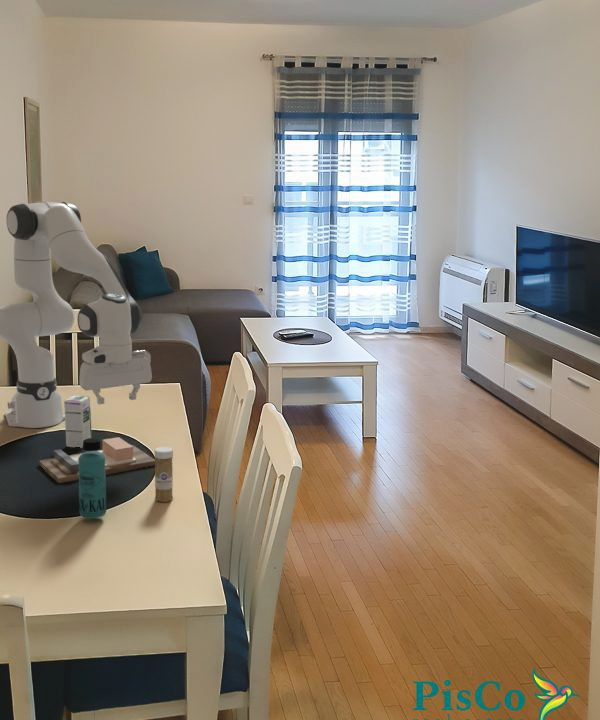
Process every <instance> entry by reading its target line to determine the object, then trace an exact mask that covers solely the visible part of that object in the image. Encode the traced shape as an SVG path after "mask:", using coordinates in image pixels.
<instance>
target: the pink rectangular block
mask: <svg viewBox="0 0 600 720" xmlns="http://www.w3.org/2000/svg"><path fill="white" fill-rule="evenodd" d="M101 441H102V442H101V444H102V449H101V450H102V451H98V450H97V451H98V452H100V453H102V454H103V455H104V456H105V462H106V463H107V464H108V465H109V466H112V465H118V464H123V463H129V462H135V461H136V459H135V458H134V457H133V446H131V445H132V444H130V443H128V442H127V441H125V440H124V439H122V438H121V437H119V436H118V437H112V438H105V439H102V440H101Z"/></svg>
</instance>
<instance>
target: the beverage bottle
mask: <svg viewBox="0 0 600 720" xmlns="http://www.w3.org/2000/svg"><path fill="white" fill-rule="evenodd" d="M101 447H102V446H101V440H100V438H96V437H92V438H88V439H85V440H84V441H83V448H82V450H83V451H84V452H82V453H83V454H82V455H80V457H79V458H78V461H79V478H78V479H79V480H78V490H77V491H78V511H79V515H80V517H82V518H86V519H97V518H101V517H103V516H105V515H106V512H107V507H108V506H107V480H106V479H107V478H106V475H105V456H104V455H103V454H102V453H100V452H98V450H101Z"/></svg>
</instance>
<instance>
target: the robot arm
mask: <svg viewBox="0 0 600 720" xmlns="http://www.w3.org/2000/svg"><path fill="white" fill-rule="evenodd" d="M6 226H7V231H8V232H9V234H10V235H11V236H12V237H13V239H14V245H13V262H14V263H13V265H14V269H13V270H14V271H13V272H14V282H15V283H16V286H18V287H19V288H20V289H22V290H24V291H25V292H28V293H31V295H32V299H33V300H32V301H31V302H17V303H10V304H9V303H8V304H6V305H3V306H0V338H1V339H3V340H4V341H5V342H7V343H8V345H10V346H11V348H12V351H13V352H14V355H15V357H16V361H17V362H16V363H17V372H18V373H17V375H18V379H17V381H16V392H15V393H14V394H13V396H12V397H11V400H10V401H7V409H9V410H6V411H4V416H5V419H6V422H7V424H8V427H19V428H26V429H27V428H28V429H37V428H47V427H48V428H49V427H52V426H55V425H58V424H61V422H62V421H65V412H63V402H62V394H61V393H60V392H58V391H57V385H58V384H57V382H58V381H57V378H56V376H55V358H54V355H53V353H52V352H51V351H50V350H49V349H47V348H44V347H42V346H40V345H38V344H37V339H36V338H38V337H46V336H54V335H55V336H57V335H59V334H62V333H65V332H68V331H70V330H72V328H73V326H74V324H75V319H76V318H75V317H76V316H75V315H76V314H75V311H74V308H73V307H72V306H71V305H70V303H69V302H67V301H66V300H64V299H63V298H62V297H61V296H60V295H59V293H58V292H57V289H56V288H55V285H54V281H53V272H52V271H53V270H52V258H53V260H55V263H57V265H58V266H59V267H61V268H62V269H64V270H66V271H68V272H73V273H77V274H81V275H84V276H87V277H90V278H92V279H95V280H96V281H98V282H99V283H100V285H101V286H102V288H103V289H104V291H105V292H106V293H104V294H101V296H99V298H98V299H97V300H95V301H93V302H90V303H86V304H84V305H82V306H81V308H80V309H79V311H78V313H77V326H78V329H79V330H80V332H81V333H82V334H83V335H85V336H86V337H88V338H99V340H98V346H96V347H94V348H91V349H90V350H87V351H85V352H83V353H82V354H81V357H82V358H81V359H82V361H83V362H82V363H81V365H80V368H79V378H78V379H79V386H80V388H81V389H83V390H84V391H92V393H93V394H94V395H95V397H96V402H97V405H104V404H105V403H106V402H105V397H104V396H101V395H100V393H101V390H102V389H109V388H117V387H125V386H132V388H133V389H132V391H131V392H129V393H128V395H129V396H128V399H129V400H130V401H134V400H137V394H138V392H139V390H140V388H141V384H148V383H150V382H151V381H152V379H153V375H152V374H153V372H152V366H151V363H152V360H151V359H152V355H151V354H150V352H149V351H146V349H142V350H133V345H132V344H133V341H132V338H131V337H132V336H131V335H133V334H135V333H136V332H137V331H138V330H139V328H140V327H141V326H142V323H143V319H144V318H143V312H142V308H141V306H139V304H138V303H137V301H135V300H134V298H133V297H132V296H131V294H130V292H129V291H128V289H127V288H126V286H125V284H124V282H123V281H122V279H121V277H120V275H119V273H118V272H117V270H116V269H115V267H114V265H113V264H112V263H111V261H110V260H109V258H108V257H107V255H105V254H103V253H102V252H100V251H99V249H97V248H96V247H95V246H94V244H92V242H91V241H90V239H89V237H88V236H87V233H86V231H85V228H84V226H83V224H82V214H81V213H80V210H79V208H78V207H77V206H76V205H75V204H73V203H70V202H65V201H62V202H55V201H42V202H31V203H19V204H15V205H12V206H11V207H10V208H9V210H8V211H7V214H6Z"/></svg>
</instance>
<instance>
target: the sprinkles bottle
mask: <svg viewBox="0 0 600 720" xmlns="http://www.w3.org/2000/svg"><path fill="white" fill-rule="evenodd" d="M173 456H174V450H173V449H172V447H168V446H159V447H156V448H155V449H154V459H155V466H154V487H155V488H154V490H155V491H154V493H155V494H154V495H155V497H154V499H155V501H157V502H160V503H168V502H171V501H172V500H173V498H174V497H173V486H174V485H173V484H174V482H173Z"/></svg>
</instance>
